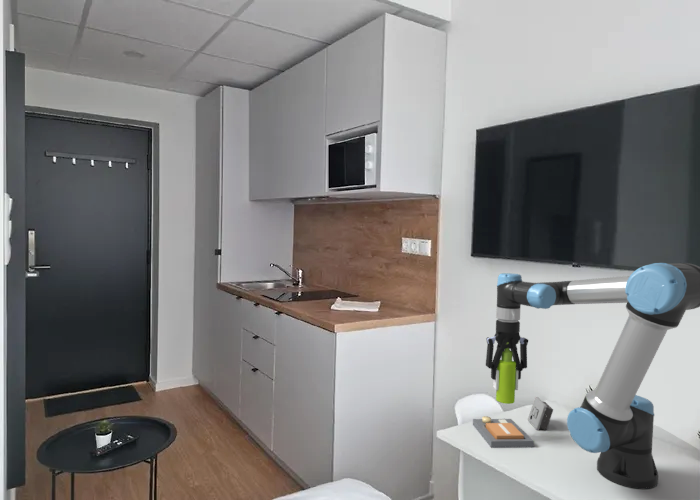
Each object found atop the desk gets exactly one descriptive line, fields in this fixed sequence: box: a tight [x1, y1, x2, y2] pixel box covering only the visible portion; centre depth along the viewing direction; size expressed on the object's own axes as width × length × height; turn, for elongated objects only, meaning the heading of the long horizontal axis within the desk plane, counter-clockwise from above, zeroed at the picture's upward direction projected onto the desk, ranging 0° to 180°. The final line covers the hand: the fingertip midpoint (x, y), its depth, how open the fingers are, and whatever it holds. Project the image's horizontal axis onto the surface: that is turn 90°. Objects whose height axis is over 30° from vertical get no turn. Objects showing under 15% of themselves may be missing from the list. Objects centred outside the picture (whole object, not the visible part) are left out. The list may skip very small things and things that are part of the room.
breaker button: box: [486, 423, 524, 439], centre depth 159 cm, size 10×9×3 cm
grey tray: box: [472, 416, 535, 449], centre depth 161 cm, size 18×14×4 cm
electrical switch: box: [527, 396, 554, 431], centre depth 170 cm, size 9×5×9 cm, turn 178°
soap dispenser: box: [495, 342, 519, 405], centre depth 158 cm, size 6×7×20 cm
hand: (505, 388), depth 158 cm, fingers closed on soap dispenser, 6 cm apart
